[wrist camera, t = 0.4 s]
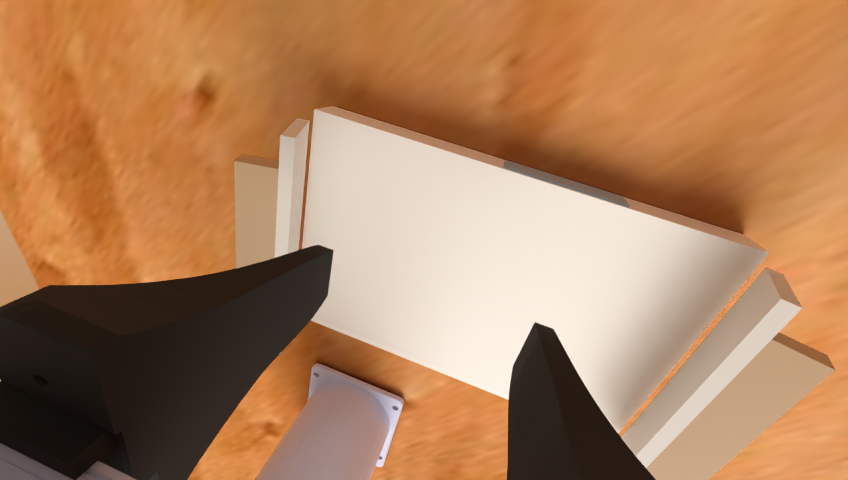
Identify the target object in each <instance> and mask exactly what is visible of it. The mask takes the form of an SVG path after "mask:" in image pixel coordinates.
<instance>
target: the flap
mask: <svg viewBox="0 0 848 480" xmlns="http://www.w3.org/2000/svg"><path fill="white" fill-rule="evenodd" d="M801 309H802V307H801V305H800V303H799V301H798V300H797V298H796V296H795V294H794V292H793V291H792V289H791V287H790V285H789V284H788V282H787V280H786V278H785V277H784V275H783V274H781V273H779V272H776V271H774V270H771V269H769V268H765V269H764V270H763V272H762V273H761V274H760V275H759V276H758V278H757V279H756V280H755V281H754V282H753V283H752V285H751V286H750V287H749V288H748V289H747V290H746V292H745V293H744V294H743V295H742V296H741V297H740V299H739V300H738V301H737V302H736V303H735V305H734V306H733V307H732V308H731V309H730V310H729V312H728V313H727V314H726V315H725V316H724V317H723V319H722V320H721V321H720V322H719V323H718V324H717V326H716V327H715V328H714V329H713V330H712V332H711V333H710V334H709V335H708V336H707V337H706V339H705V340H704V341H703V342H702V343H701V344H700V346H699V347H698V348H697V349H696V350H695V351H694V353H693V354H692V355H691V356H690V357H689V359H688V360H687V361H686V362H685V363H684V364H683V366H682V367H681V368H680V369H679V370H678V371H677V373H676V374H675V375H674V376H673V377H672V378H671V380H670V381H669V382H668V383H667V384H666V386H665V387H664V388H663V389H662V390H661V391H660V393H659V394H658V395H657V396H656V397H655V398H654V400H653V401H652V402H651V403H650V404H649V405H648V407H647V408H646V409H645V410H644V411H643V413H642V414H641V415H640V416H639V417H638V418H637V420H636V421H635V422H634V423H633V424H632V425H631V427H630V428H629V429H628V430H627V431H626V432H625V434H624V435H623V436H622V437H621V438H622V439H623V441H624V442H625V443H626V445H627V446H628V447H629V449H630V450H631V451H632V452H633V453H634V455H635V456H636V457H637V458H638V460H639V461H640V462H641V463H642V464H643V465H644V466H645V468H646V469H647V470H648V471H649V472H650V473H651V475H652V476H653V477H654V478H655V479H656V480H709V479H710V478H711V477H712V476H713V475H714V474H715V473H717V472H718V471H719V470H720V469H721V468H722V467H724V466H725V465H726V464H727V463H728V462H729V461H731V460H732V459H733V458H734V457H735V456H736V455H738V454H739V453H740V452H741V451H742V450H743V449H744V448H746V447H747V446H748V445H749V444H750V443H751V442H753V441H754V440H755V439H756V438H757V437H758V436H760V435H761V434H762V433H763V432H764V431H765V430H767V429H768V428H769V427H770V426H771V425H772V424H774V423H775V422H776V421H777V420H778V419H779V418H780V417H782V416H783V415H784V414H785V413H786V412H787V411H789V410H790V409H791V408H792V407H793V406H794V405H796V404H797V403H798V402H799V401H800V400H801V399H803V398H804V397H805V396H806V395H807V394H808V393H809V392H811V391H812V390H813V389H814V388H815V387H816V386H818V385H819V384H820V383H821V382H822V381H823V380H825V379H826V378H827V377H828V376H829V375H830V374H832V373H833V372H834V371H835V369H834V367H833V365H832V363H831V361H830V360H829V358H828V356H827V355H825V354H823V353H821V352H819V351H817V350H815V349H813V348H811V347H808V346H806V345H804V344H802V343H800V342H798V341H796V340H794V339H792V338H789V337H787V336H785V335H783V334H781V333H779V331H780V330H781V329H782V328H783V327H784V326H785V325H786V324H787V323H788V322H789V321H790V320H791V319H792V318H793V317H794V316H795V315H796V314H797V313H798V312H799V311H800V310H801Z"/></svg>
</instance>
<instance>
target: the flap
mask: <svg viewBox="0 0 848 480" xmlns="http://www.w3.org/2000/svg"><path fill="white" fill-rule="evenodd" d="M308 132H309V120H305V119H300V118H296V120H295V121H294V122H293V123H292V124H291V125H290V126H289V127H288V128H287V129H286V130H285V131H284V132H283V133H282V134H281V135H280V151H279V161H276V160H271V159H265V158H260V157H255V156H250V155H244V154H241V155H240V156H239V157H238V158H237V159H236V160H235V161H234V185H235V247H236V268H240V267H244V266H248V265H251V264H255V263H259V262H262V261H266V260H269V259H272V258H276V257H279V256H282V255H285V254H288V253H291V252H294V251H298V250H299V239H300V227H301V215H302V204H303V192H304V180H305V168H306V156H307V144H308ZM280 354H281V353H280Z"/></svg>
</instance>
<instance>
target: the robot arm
mask: <svg viewBox="0 0 848 480" xmlns="http://www.w3.org/2000/svg"><path fill="white" fill-rule="evenodd" d="M333 251H334V250H332V249H329V248H326V247H323V246H321V245H314V246H311V247H307V248H304V249H301V250H298V251H294V252H291V253H288V254H285V255H282V256H279V257H276V258H272V259H269V260H266V261H262V262H259V263H255V264H251V265H248V266H244V267H240V268H236V269H232V270H228V271H223V272H219V273H214V274H208V275H203V276H197V277H191V278H183V279H175V280H167V281H159V282H149V283H136V284H119V285H50V286H47V287H44V288H42V289H40V290H38V291H35V292H33V293H31V294H29V295H26V296H24V297H22V298H20V299H17V300H15V301H13V302H11V303H8V304H6V305H4V306H2V307H0V379H1V382H0V480H187V479H188V477H189V476H190V474H191V473H192V471H193V469H194V468H195V466H196V465H197V463H198V462H199V460H200V459H201V457H202V456H203V454H204V453H205V451H206V450H207V448H208V447H209V446H210V444H211V443H212V441H213V440H214V438H215V437H216V435H217V434H218V432H219V431H220V429H221V428H222V427H223V425H224V424H225V422H226V421H227V420H228V418H229V417H230V416H231V414H232V413H233V411H234V410H235V409H236V407H237V406H238V404H239V403H240V402H241V400H242V399H243V398H244V396H245V395H246V394H247V392H248V391H249V390H250V388H251V387H252V386H253V384H254V383H255V382H256V380H257V379H258V378H259V376H260V375H261V374H262V373H263V372H264V370H265V369H266V368H267V367H268V366H269V365H270V364H271V362H272V361H273V360H274V359H275V358H276V357H277V356H278V355H279V354H280V353H281V352H282V351H283V350H284V348H285V347H286V346H287V345H288V344H289V343H290V342H291V341H292V340H293V339H294V338H295V337H296V336H297V334H298V333H299V332H300V331H301V330H302V329H303V328H304V327H305V326H306V325H307V324H308V322H309V321H310V320H311V319H312V318H313V317H314V315H315V314H316V312H317V311H318V310H319V308H320V307H321V305H322V304H323V302H324V301H325V299H326V298H327V296H328V289H329V282H330V274H331V267H332V259H333ZM403 404H404V401H403V399H402V398H401V397H399V396H397V395H394V394H392V393H389V392H387V391H385V390H382V389H380V388H377V387H375V386H373V385H370V384H368V383H365V382H363V381H361V380H358V379H356V378H353V377H351V376H349V375H346V374H344V373H341V372H339V371H337V370H334V369H332V368H329V367H327V366H325V365H322V364H320V363H315V364H314V365H313V367H312V370H311V378H310V386H309V393H308V401H307V403H306V405H305V406H304V408H303V409H302V411H301V412H300V414H299V415H298V416H297V418H296V419H295V421H294V422H293V424H292V425H291V427H290V428H289V430H288V431H287V433H286V434H285V436H284V437H283V439H282V440H281V442H280V443H279V444H278V446H277V447H276V449H275V450H274V452H273V453H272V455H271V456H270V458H269V459H268V461H267V462H266V464H265V465H264V467H263V468H262V470H261V471H260V472H259V474H258V475H257V477H256V478H255V480H370V479H371V476H372V474H373V471H374V469H375V466H377V467H382V466H383V464H384V461H385V458H386V455H387V452H388V449H389V446H390V443H391V440H392V437H393V434H394V431H395V428H396V425H397V422H398V419H399V416H400V413H401V410H402V407H403ZM507 480H656V479H655V478H654V477H653V476H652V475H651V473H650V472H649V471H648V470H647V469H646V468H645V466H644V465H643V464H642V463H641V462H640V461H639V460H638V458H637V457H636V456H635V455H634V453H633V452H632V451H631V450H630V449H629V447H628V446H627V445H626V443H625V442H624V441H623V439H622V438H621V437H620V436H619V434H618V433H617V432H616V430H615V429H614V428H613V426H612V425H611V424H610V422H609V421H608V419H607V418H606V417H605V415H604V414H603V412H602V411H601V409H600V408H599V406H598V405H597V403H596V402H595V400H594V399H593V397H592V396H591V394H590V392H589V391H588V389H587V388H586V386H585V384H584V383H583V381H582V379H581V378H580V376H579V374H578V373H577V371H576V369H575V367H574V366H573V364H572V362H571V360H570V358H569V356H568V355H567V353H566V351H565V349H564V347H563V345H562V344H561V342H560V340H559V338H558V336H557V334H556V332H555V331H554V329H553V328H550V327H547V326H544V325H541V324H539V323H536V322H535V323H534V325H533V327H532V329H531V331H530V333H529V335H528V337H527V339H526V341H525V343H524V345H523V347H522V349H521V351H520V353H519V355H518V357H517V359H516V361H515V363H514V365H513V368H512V375H511V381H510V389H509V407H508V470H507Z"/></svg>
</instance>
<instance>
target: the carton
mask: <svg viewBox="0 0 848 480" xmlns="http://www.w3.org/2000/svg"><path fill="white" fill-rule="evenodd" d="M314 245H321V246H323V247H326V248H329V249H332V250H334V251H333V259H332V267H331V274H330V282H329V289H328V296H327V298H326V299H325V301H324V302H323V304H322V305H321V307H320V308H319V310H318V311H317V312H316V314H315V315H314V317H313V318H312V319H311V321H313V322H316V323H318V324H321V325H323V326H326V327H328V328H331V329H333V330H336V331H338V332H341V333H343V334H346V335H348V336H351V337H353V338H356V339H358V340H361V341H363V342H365V343H368V344H370V345H373V346H375V347H378V348H380V349H383V350H385V351H388V352H390V353H393V354H395V355H398V356H400V357H403V358H405V359H408V360H410V361H413V362H415V363H418V364H420V365H423V366H425V367H428V368H430V369H433V370H435V371H438V372H440V373H443V374H445V375H448V376H450V377H453V378H455V379H458V380H460V381H463V382H465V383H468V384H470V385H473V386H475V387H478V388H480V389H483V390H485V391H488V392H490V393H493V394H495V395H498V396H500V397H503V398H505V399H508V400H509V389H510V381H511V375H512V368H513V365H514V363H515V361H516V359H517V357H518V355H519V353H520V351H521V349H522V347H523V345H524V343H525V341H526V339H527V337H528V335H529V333H530V331H531V329H532V327H533V325H534V323H535V322H536V323H539V324H541V325H544V326H547V327H550V328H553V329H554V331H555V332H556V334H557V336H558V338H559V340H560V342H561V344H562V345H563V347H564V349H565V351H566V353H567V355H568V356H569V358H570V360H571V362H572V364H573V366H574V367H575V369H576V371H577V373H578V374H579V376H580V378H581V379H582V381H583V383H584V384H585V386H586V388H587V389H588V391H589V392H590V394H591V396H592V397H593V399H594V400H595V402H596V403H597V405H598V406H599V408H600V409H601V411H602V412H603V414H604V415H605V417H606V418H607V419H608V421H609V422H610V424H611V425H612V426H613V428H614V429H615V430H616V432H617V433H619V432H620V431H621V430H622V428H623V427H624V426H625V425H626V424H627V422H628V421H629V420H630V419H631V418H632V416H633V415H634V414H635V413H636V412H637V410H638V409H639V408H640V407H641V406H642V404H643V403H644V402H645V401H646V400H647V398H648V397H649V396H650V395H651V394H652V393H653V391H654V390H655V389H656V388H657V387H658V385H659V384H660V383H661V382H662V381H663V379H664V378H665V377H666V376H667V375H668V373H669V372H670V371H671V370H672V369H673V367H674V366H675V365H676V364H677V363H678V361H679V360H680V359H681V358H682V357H683V356H684V354H685V353H686V352H687V351H688V350H689V348H690V347H691V346H692V345H693V344H694V342H695V341H696V340H697V339H698V338H699V336H700V335H701V334H702V333H703V332H704V330H705V329H706V328H707V327H708V326H709V324H710V323H711V322H712V321H713V320H714V318H715V317H716V316H717V315H718V314H719V313H720V311H721V310H722V309H723V308H724V307H725V305H726V304H727V303H728V302H729V301H730V299H731V298H732V297H733V296H734V295H735V293H736V292H737V291H738V290H739V289H740V287H741V286H742V285H743V284H744V283H745V281H746V280H747V279H748V278H749V277H750V276H751V274H752V273H753V272H754V271H755V270H756V268H757V267H758V266H759V265H760V264H761V262H762V261H763V260H764V259H765V258H766V256H767V255H768V254H769V252H767V251H766V250H765V249H763V248H762V247H761V246H759V245H758V244H756V243H755V242H754V241H752V240H751V239H750V238H748V237H747V236H746V235H744V234H741V233H737V232H734V231H731V230H728V229H725V228H721V227H718V226H715V225H712V224H709V223H705V222H702V221H699V220H696V219H693V218H690V217H686V216H683V215H680V214H677V213H674V212H670V211H667V210H664V209H661V208H658V207H654V206H651V205H648V204H645V203H642V202H638V201H635V200H632V199H629V198H626V197H623V196H620V195H617V194H614V193H611V192H607V191H604V190H601V189H598V188H595V187H591V186H588V185H585V184H582V183H579V182H575V181H572V180H569V179H566V178H563V177H559V176H556V175H553V174H550V173H547V172H543V171H540V170H537V169H534V168H531V167H527V166H524V165H521V164H518V163H515V162H511V161H508V160H504V159H501V158H498V157H495V156H491V155H488V154H485V153H482V152H479V151H475V150H472V149H469V148H466V147H463V146H459V145H456V144H453V143H450V142H447V141H443V140H440V139H437V138H434V137H431V136H427V135H424V134H421V133H418V132H415V131H411V130H408V129H405V128H402V127H399V126H395V125H392V124H389V123H386V122H383V121H379V120H376V119H373V118H370V117H367V116H364V115H360V114H357V113H354V112H351V111H348V110H344V109H341V108H338V107H335V106H330V107H324V108H318V109H314V117H313V129H312V140H311V151H310V162H309V173H308V185H307V196H306V207H305V218H304V230H303V241H302V249H304V248H307V247H311V246H314Z"/></svg>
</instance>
